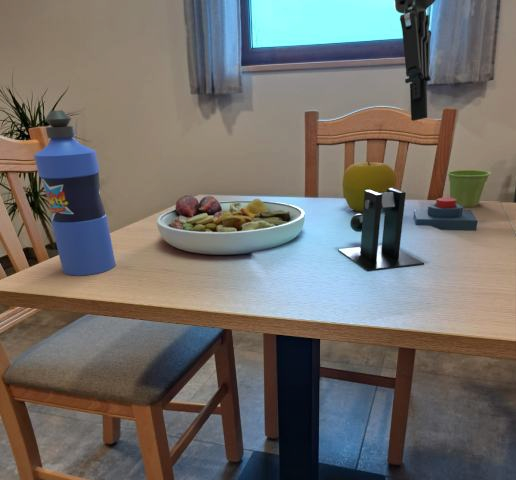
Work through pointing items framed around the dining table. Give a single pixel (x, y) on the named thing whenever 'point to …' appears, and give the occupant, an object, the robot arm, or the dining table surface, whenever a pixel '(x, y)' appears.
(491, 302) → the dining table surface
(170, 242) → the bowl
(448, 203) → the red button
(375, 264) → the stand
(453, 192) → the plant pot
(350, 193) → the apple
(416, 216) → the button box
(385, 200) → the switch lever
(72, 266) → the water bottle
